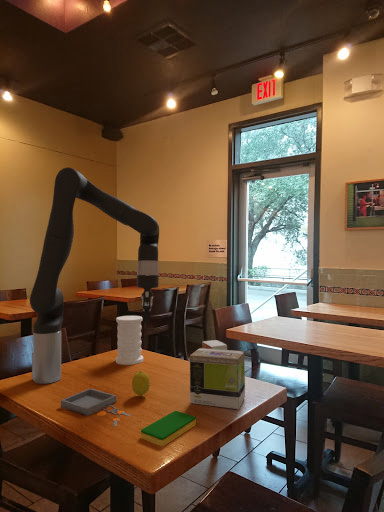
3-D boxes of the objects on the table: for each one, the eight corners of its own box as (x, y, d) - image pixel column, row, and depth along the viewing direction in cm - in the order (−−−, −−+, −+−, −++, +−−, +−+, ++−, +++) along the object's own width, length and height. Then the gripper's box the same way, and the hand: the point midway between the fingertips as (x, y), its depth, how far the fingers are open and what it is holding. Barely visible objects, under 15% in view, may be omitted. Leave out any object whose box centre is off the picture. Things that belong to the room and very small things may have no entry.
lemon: (151, 393, 117) (151, 368, 117) (147, 400, 111) (147, 374, 111) (134, 392, 117) (134, 367, 117) (129, 399, 112) (129, 373, 112)
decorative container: (111, 364, 148) (111, 319, 148) (121, 356, 159) (121, 315, 159) (138, 365, 146) (138, 320, 146) (146, 357, 157) (146, 315, 157)
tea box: (245, 397, 113) (245, 350, 113) (238, 411, 104) (238, 359, 104) (199, 391, 118) (199, 346, 118) (189, 403, 109) (189, 354, 109)
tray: (60, 407, 106) (60, 400, 106) (90, 394, 116) (90, 388, 116) (87, 416, 100) (87, 408, 100) (116, 402, 110) (116, 395, 110)
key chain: (90, 412, 103) (90, 409, 103) (113, 405, 108) (113, 402, 108) (113, 428, 94) (113, 425, 94) (137, 419, 99) (137, 416, 99)
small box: (201, 377, 132) (201, 341, 132) (217, 374, 135) (217, 339, 135) (211, 384, 125) (211, 346, 125) (227, 381, 127) (227, 344, 127)
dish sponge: (140, 439, 88) (140, 429, 88) (175, 418, 100) (175, 409, 100) (162, 448, 84) (162, 438, 84) (196, 425, 96) (196, 416, 95)
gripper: (137, 274, 133) (137, 319, 132) (135, 273, 119) (134, 323, 118) (158, 274, 134) (157, 319, 133) (158, 273, 120) (158, 323, 118)
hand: (147, 321), depth 125 cm, fingers open, 8 cm apart
